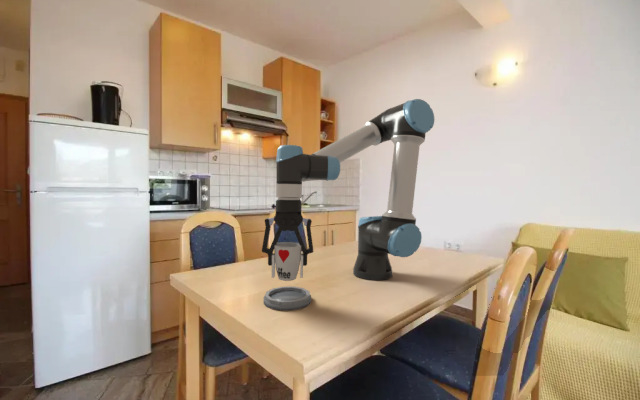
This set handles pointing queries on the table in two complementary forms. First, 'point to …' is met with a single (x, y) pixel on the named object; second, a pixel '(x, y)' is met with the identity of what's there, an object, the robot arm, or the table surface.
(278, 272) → the cup
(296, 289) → the tray
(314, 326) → the table surface
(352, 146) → the robot arm
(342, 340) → the table surface
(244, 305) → the table surface
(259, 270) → the table surface
